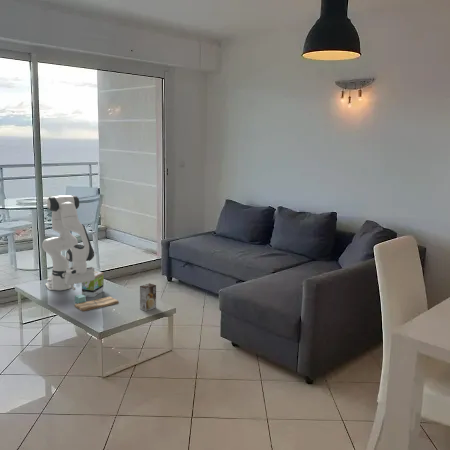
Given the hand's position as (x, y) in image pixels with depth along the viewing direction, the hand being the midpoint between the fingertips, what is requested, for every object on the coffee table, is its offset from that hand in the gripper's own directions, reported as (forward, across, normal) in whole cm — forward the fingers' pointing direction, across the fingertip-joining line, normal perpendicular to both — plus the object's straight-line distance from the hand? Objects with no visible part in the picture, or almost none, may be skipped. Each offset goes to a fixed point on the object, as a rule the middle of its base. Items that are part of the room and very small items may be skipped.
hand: (80, 288), depth 308 cm
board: (+10, -7, +9) cm, 16 cm away
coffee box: (+11, -30, +36) cm, 48 cm away
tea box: (+10, -16, -14) cm, 24 cm away
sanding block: (+10, 0, -1) cm, 10 cm away
